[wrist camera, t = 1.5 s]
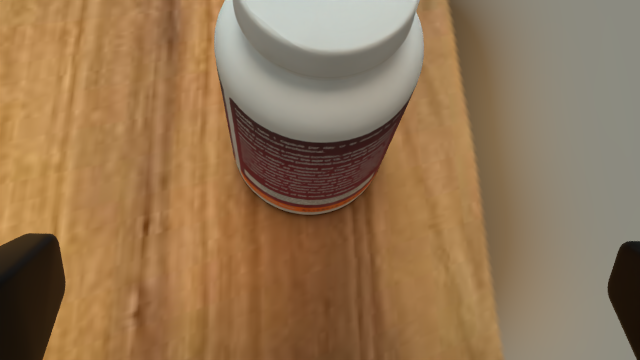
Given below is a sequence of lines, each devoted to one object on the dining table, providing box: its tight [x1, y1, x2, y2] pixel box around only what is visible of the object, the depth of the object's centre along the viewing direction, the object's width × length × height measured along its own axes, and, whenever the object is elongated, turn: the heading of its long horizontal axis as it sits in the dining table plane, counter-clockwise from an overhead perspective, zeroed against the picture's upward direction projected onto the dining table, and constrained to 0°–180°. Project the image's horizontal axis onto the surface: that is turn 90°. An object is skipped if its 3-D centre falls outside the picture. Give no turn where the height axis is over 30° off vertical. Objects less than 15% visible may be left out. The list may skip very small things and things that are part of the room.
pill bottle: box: [214, 0, 424, 215], centre depth 19 cm, size 6×6×11 cm
